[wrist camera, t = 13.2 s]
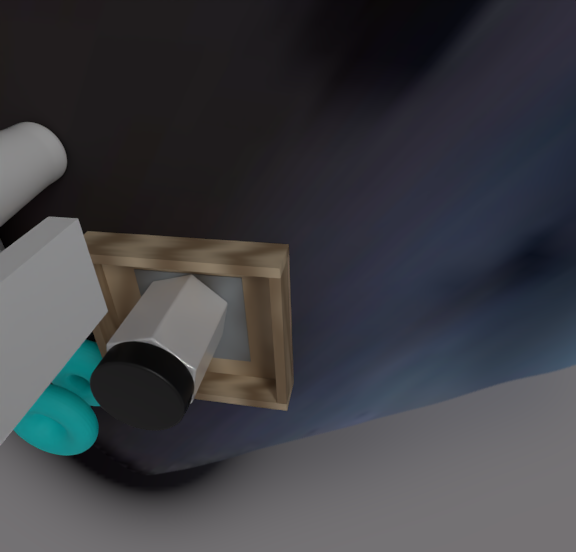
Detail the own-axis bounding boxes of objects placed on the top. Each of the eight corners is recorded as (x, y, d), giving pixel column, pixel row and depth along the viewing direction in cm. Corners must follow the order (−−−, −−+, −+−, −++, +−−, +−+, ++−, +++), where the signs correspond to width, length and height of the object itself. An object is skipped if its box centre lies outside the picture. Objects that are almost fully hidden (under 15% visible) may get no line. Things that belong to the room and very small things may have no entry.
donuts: (13, 385, 44) (103, 436, 47) (71, 319, 52) (145, 366, 55) (-11, 427, 50) (70, 471, 52) (45, 362, 58) (113, 403, 60)
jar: (169, 342, 50) (116, 434, 40) (134, 282, 46) (65, 368, 36) (242, 332, 47) (204, 429, 38) (212, 268, 43) (160, 357, 34)
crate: (288, 244, 41) (279, 268, 38) (293, 382, 51) (287, 410, 48) (87, 231, 45) (63, 252, 41) (129, 363, 55) (113, 388, 52)
